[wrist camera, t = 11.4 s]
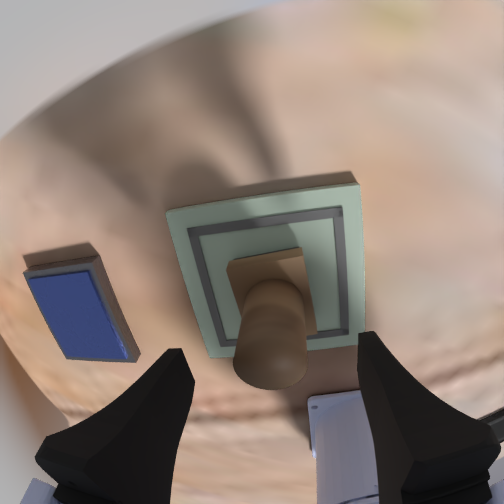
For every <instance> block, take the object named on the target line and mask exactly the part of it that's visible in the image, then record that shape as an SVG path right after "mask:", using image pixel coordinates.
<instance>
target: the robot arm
mask: <svg viewBox="0 0 504 504" xmlns="http://www.w3.org/2000/svg"><path fill="white" fill-rule="evenodd" d="M357 371H358V378H359V384H360V390H357V391H350V392H343V393H335V394H327V395H318V396H311V397H310V398H308V401H307V402H308V413H309V423H310V433H311V443H312V454H313V457H314V458H316V473H317V504H504V479H503V480H501V481H499V482H497V483H495V484H493V485H492V486H490V487H489V484H488V480H489V479H490V475H489V472H488V469H489V467H490V466H491V465H492V464H493V462H494V461H495V460H496V458H497V457H498V455H499V454H500V451H501V445H500V443H499V440H498V438H497V436H496V434H495V432H494V431H493V429H492V427H491V426H490V425H488V424H486V423H483V422H481V421H478V420H476V419H474V418H471V417H469V416H467V415H466V414H464V413H462V412H460V411H458V410H456V409H455V408H453V407H452V406H450V405H449V404H447V403H445V402H444V401H442V400H441V399H439V398H438V397H437V396H435V395H434V394H433V393H431V392H430V391H429V390H428V389H426V388H425V387H424V386H423V385H422V384H421V383H419V382H418V381H417V380H416V379H415V378H414V377H413V376H412V375H411V374H410V373H409V372H408V371H407V370H406V369H405V368H404V367H403V366H402V365H401V364H400V362H399V361H398V360H397V359H396V358H395V357H394V356H393V355H392V353H391V352H390V351H389V350H388V348H387V347H386V346H385V345H384V343H383V342H382V341H381V340H380V338H379V337H378V335H377V334H376V333H375V332H374V331H369V332H362V333H358V363H357ZM194 386H195V380H194V378H193V375H192V373H191V371H190V368H189V366H188V363H187V361H186V358H185V356H184V353H183V351H182V348H173V349H168V350H167V351H166V352H164V353H163V354H162V356H161V357H160V358H159V359H158V360H157V361H156V362H155V363H154V364H153V365H152V366H151V367H150V368H149V369H148V370H147V371H146V372H145V373H144V374H143V375H142V376H141V377H140V378H139V379H138V380H137V381H136V382H135V383H134V384H133V385H131V386H130V387H129V388H128V389H127V390H126V391H125V392H124V393H123V394H121V395H120V396H119V397H118V398H117V399H115V400H114V401H113V402H111V403H110V404H109V405H107V406H106V407H105V408H103V409H102V410H100V411H98V412H97V413H95V414H94V415H92V416H90V417H89V418H87V419H85V420H84V421H82V422H80V423H78V424H76V425H74V426H72V427H70V428H68V429H65V430H63V431H60V432H58V433H55V434H52V435H50V436H46V438H45V440H44V441H43V443H42V445H41V447H40V448H39V450H38V452H37V454H36V456H35V460H36V462H37V464H38V465H39V466H40V467H41V468H42V469H43V470H44V471H45V472H46V473H47V474H48V475H50V476H51V477H52V478H53V479H54V480H55V481H56V482H57V483H59V484H58V486H57V488H55V487H53V486H52V485H50V484H48V483H45V482H43V481H41V480H38V479H36V478H33V479H32V481H31V483H30V485H29V487H28V489H27V491H26V493H25V495H24V497H23V499H22V501H21V503H20V504H170V497H171V486H172V479H173V471H174V465H175V459H176V454H177V449H178V445H179V442H180V439H181V435H182V432H183V429H184V426H185V423H186V420H187V416H188V413H189V410H190V407H191V403H192V398H193V393H194ZM314 405H315V406H314Z"/></svg>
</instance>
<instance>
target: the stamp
mask: <svg viewBox="0 0 504 504" xmlns="http://www.w3.org/2000/svg"><path fill="white" fill-rule="evenodd" d="M226 272H227V275H228V278H229V282H230V285H231V288H232V291H233V294H234V297H235V300H236V303H237V306H238V309H239V312H240V315H241V318H242V319H241V324H240V329H239V334H238V339H237V344H236V349H235V354H234V359H233V367H234V370H235V372H236V374H237V375H238V376H239V377H240V378H241V379H242V380H243V381H244V382H246V383H247V384H249V385H251V386H254V387H256V388H260V389H266V390H278V389H283V388H287V387H290V386H292V385H294V384H296V383H297V382H299V381H300V380H301V379H302V378H303V377H304V375H305V374H306V371H307V368H308V357H307V341H306V336H308V335H314V334H318V332H317V324H316V318H315V312H314V307H313V301H312V296H311V291H310V286H309V280H308V275H307V270H306V265H305V260H304V255H303V250H302V247H300V248H299V247H293V248H288V249H283V250H278V251H273V252H267V253H262V254H257V255H252V256H246V257H241V258H236V259H234V260H232V261H229V262H228V265H227V268H226Z"/></svg>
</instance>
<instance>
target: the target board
mask: <svg viewBox="0 0 504 504" xmlns="http://www.w3.org/2000/svg"><path fill="white" fill-rule="evenodd" d="M165 215H166V219H167V222H168V226H169V230H170V233H171V237H172V240H173V244H174V247H175V251H176V254H177V258H178V261H179V264H180V268H181V271H182V274H183V278H184V281H185V284H186V288H187V291H188V294H189V297H190V300H191V303H192V307H193V310H194V313H195V316H196V319H197V322H198V325H199V328H200V331H201V334H202V337H203V340H204V343H205V346H206V349H207V351H208V354H209V357H210V358H224V357H234V354H235V349H236V344H237V339H238V334H239V329H240V324H241V319H242V318H241V315H240V312H239V309H238V306H237V303H236V300H235V297H234V294H233V291H232V288H231V285H230V282H229V278H228V275H227V272H226V268H227V265H228V262H229V261H232V260H234V259H236V258H241V257H246V256H252V255H257V254H262V253H267V252H273V251H278V250H283V249H288V248H293V247H299V248H300V247H302V250H303V255H304V260H305V265H306V270H307V275H308V280H309V286H310V291H311V296H312V301H313V307H314V312H315V318H316V324H317V332H318V334H314V335H308V336H306V341H307V351H311V350H320V349H328V348H336V347H344V346H351V345H358V333H362V332H365V264H364V237H363V219H362V204H361V191H360V184H359V183H358V182H355V183H346V184H337V185H329V186H321V187H313V188H305V189H297V190H290V191H282V192H275V193H268V194H261V195H255V196H248V197H242V198H235V199H229V200H223V201H217V202H211V203H205V204H199V205H193V206H187V207H182V208H176V209H171V210H168V211H167V212H166V213H165Z"/></svg>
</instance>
